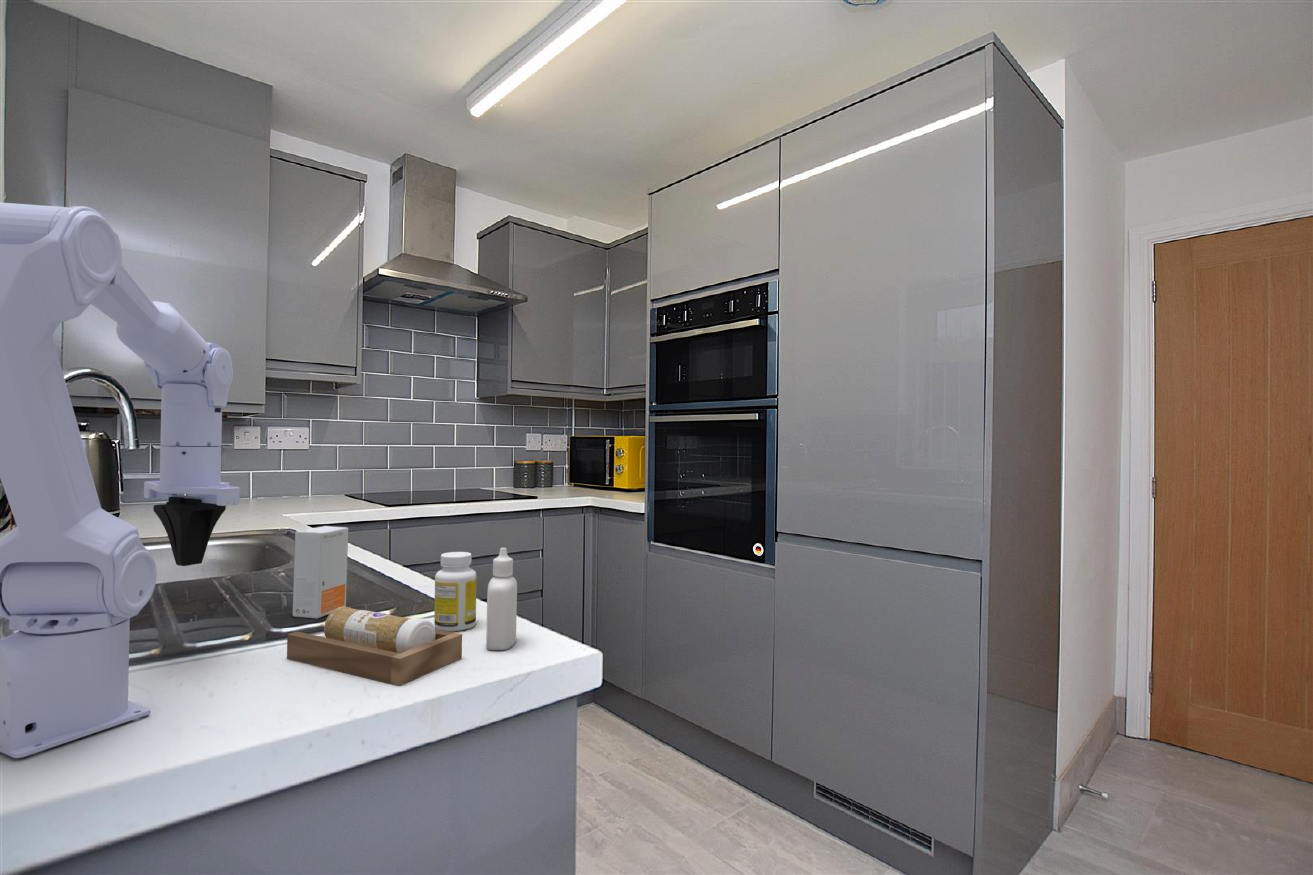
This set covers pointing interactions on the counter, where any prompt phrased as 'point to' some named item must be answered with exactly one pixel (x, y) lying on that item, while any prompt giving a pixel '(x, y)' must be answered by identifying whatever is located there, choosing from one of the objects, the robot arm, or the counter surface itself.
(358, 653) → the wooden tray
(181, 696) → the counter surface
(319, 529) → the skincare box
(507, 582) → the eye dropper bottle
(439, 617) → the supplement bottle
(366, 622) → the sprinkles bottle
